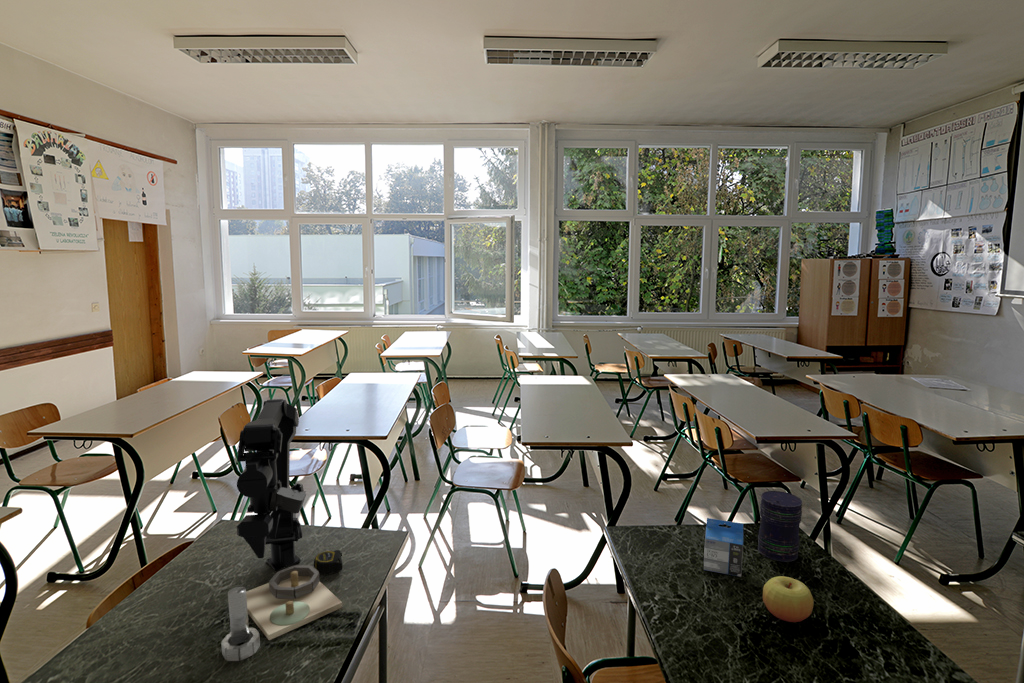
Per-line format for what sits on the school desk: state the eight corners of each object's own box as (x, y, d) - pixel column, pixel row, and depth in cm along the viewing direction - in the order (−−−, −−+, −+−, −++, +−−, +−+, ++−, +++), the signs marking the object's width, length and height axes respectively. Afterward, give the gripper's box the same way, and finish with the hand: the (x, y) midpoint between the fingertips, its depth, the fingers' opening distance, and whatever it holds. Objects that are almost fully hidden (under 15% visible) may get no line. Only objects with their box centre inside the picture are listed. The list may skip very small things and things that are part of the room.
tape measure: (343, 575, 138) (342, 560, 137) (313, 579, 136) (312, 565, 135) (342, 561, 144) (342, 547, 144) (314, 565, 142) (313, 551, 142)
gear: (218, 649, 111) (214, 591, 110) (252, 634, 116) (248, 578, 114) (229, 665, 107) (224, 605, 105) (263, 650, 111) (259, 591, 109)
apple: (791, 634, 116) (794, 599, 115) (751, 609, 124) (754, 575, 123) (821, 620, 120) (824, 586, 119) (781, 596, 129) (783, 564, 128)
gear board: (237, 599, 128) (236, 581, 127) (306, 572, 139) (305, 555, 138) (268, 640, 114) (267, 620, 113) (342, 607, 125) (341, 588, 124)
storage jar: (765, 538, 156) (769, 487, 153) (803, 551, 149) (808, 498, 147) (751, 552, 148) (755, 498, 146) (790, 566, 142) (795, 510, 140)
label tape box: (703, 570, 140) (705, 524, 138) (704, 562, 144) (706, 517, 142) (741, 578, 136) (744, 530, 135) (741, 569, 140) (744, 523, 138)
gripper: (291, 493, 115) (295, 566, 117) (310, 464, 133) (313, 526, 135) (233, 497, 113) (238, 570, 115) (260, 466, 132) (264, 530, 134)
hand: (267, 547), depth 125 cm, fingers open, 9 cm apart
